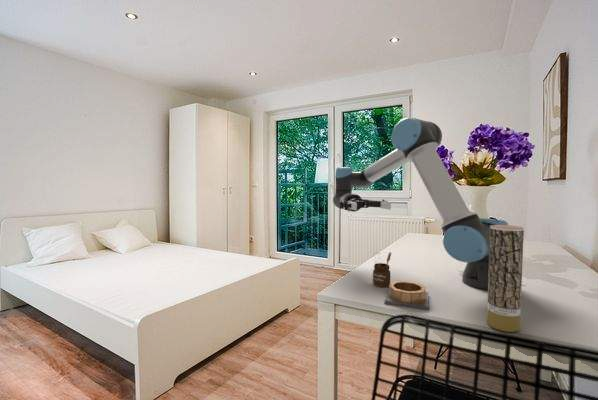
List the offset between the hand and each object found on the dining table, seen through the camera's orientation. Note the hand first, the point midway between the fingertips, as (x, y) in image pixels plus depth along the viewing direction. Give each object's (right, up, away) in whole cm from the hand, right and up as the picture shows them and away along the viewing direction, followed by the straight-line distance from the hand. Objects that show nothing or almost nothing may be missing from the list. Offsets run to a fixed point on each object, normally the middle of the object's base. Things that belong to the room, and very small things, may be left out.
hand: (373, 206), depth 114 cm
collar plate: (+6, -28, -20) cm, 35 cm away
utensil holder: (+2, -28, -6) cm, 28 cm away
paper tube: (+23, -29, -38) cm, 53 cm away
